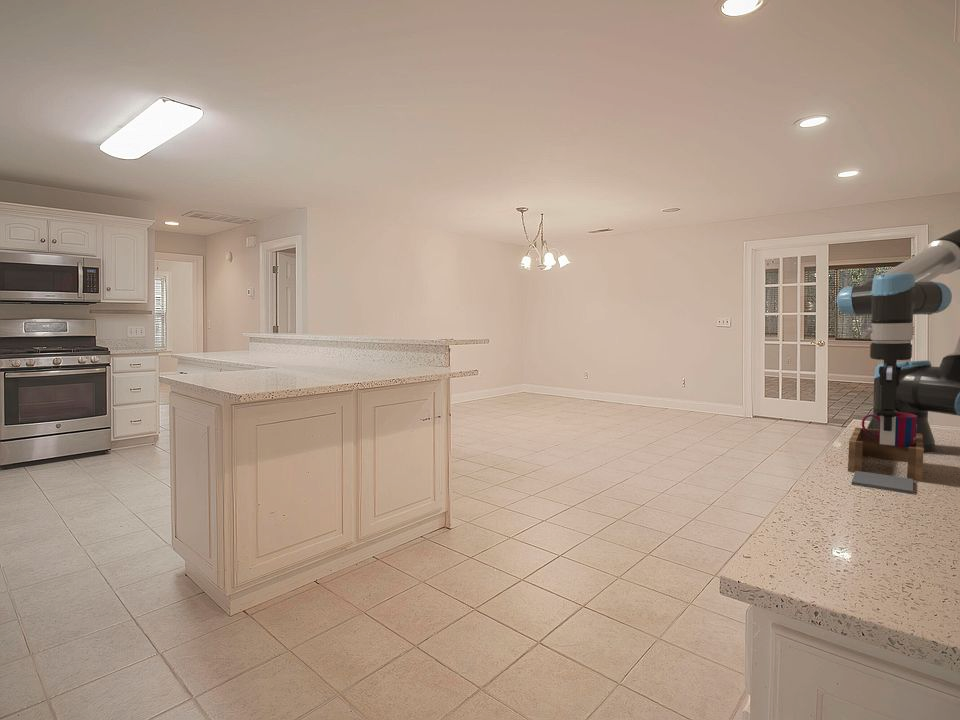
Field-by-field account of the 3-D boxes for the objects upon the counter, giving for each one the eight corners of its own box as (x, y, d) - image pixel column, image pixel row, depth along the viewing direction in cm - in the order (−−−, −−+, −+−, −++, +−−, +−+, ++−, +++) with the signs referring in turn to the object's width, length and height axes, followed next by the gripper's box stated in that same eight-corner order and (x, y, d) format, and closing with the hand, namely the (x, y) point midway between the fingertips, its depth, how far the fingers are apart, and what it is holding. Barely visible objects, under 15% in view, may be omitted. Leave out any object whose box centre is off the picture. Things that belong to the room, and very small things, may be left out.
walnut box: (854, 454, 134) (855, 427, 134) (920, 462, 126) (922, 433, 125) (847, 471, 120) (849, 441, 119) (922, 481, 112) (923, 449, 111)
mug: (916, 449, 116) (918, 418, 115) (860, 442, 122) (861, 413, 121) (914, 442, 121) (916, 413, 120) (861, 436, 127) (862, 408, 126)
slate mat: (855, 473, 118) (855, 470, 118) (912, 481, 112) (912, 478, 112) (851, 484, 110) (851, 481, 110) (912, 493, 104) (913, 491, 104)
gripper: (872, 339, 129) (870, 431, 131) (867, 344, 114) (864, 448, 116) (912, 339, 124) (908, 434, 126) (912, 344, 109) (908, 452, 111)
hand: (887, 440), depth 121 cm, fingers closed on mug, 7 cm apart
